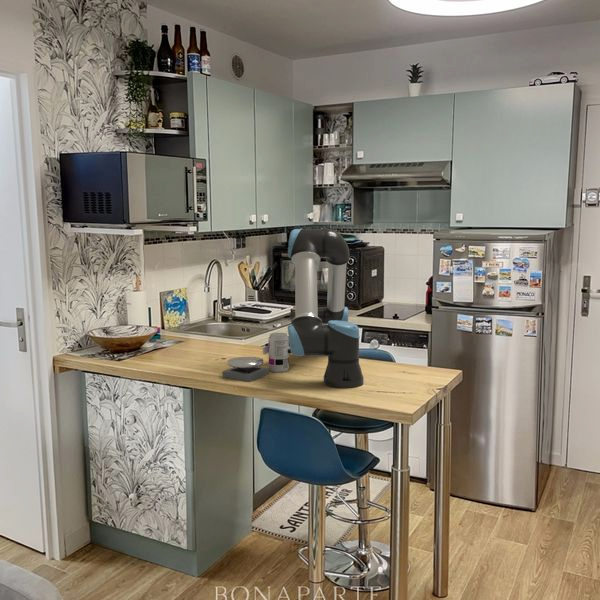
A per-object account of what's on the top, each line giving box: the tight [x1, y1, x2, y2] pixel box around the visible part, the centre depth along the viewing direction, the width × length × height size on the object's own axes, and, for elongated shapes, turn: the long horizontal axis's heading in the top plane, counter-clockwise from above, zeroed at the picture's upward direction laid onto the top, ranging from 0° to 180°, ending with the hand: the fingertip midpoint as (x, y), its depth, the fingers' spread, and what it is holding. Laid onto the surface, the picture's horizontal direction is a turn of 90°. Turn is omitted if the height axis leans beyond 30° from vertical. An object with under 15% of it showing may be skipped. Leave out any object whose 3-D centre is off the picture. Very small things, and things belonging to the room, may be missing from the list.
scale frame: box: [222, 366, 270, 383], centre depth 252 cm, size 13×13×3 cm
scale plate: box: [227, 356, 264, 373], centre depth 252 cm, size 14×14×4 cm
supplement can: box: [267, 332, 290, 373], centre depth 260 cm, size 8×8×15 cm
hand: (273, 352), depth 256 cm, fingers closed on supplement can, 8 cm apart
